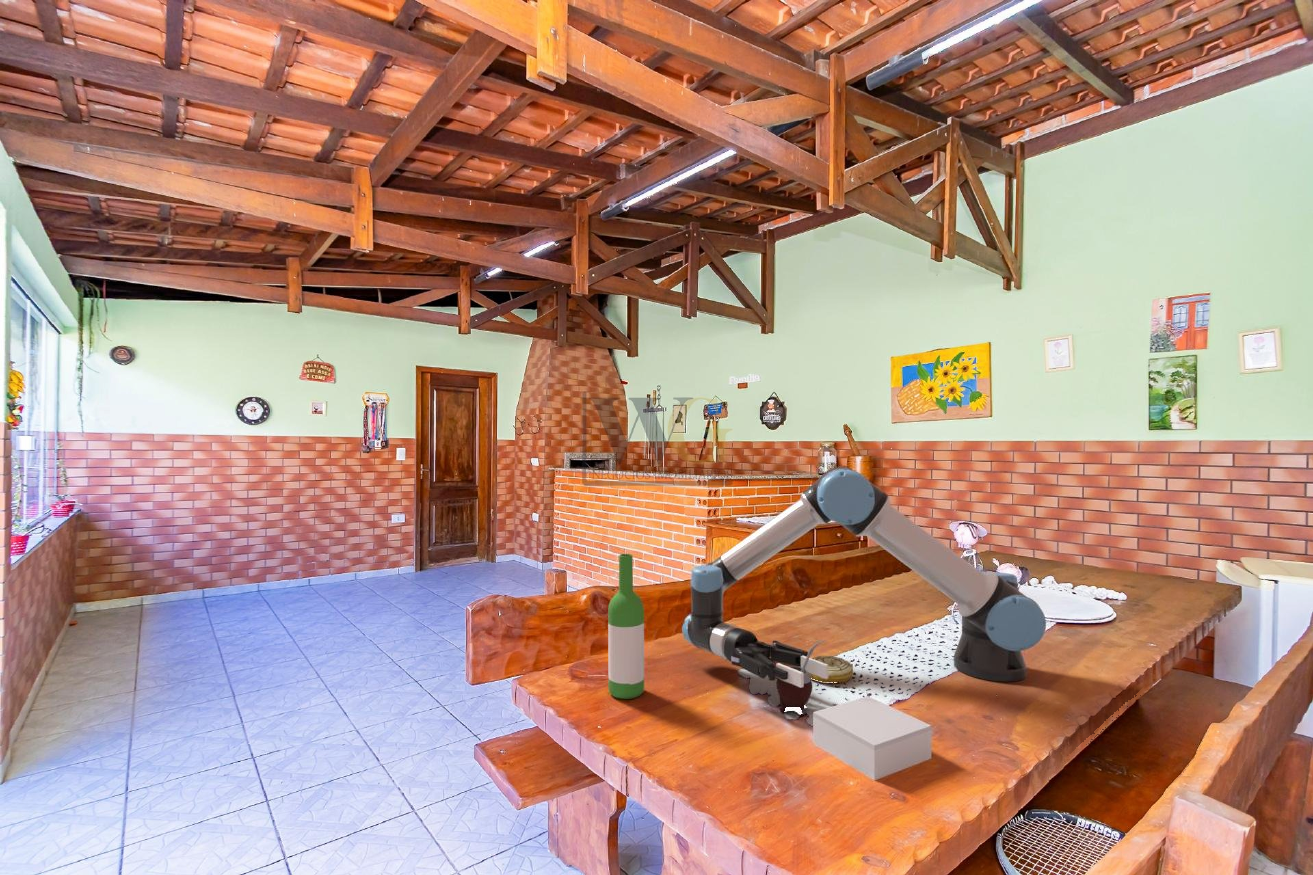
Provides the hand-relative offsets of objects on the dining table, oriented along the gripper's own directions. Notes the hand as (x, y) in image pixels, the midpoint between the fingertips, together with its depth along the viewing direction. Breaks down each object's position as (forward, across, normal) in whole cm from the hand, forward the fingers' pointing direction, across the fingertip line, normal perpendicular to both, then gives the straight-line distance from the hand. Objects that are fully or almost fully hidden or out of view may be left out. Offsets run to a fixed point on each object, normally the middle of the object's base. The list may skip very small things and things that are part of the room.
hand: (814, 675), depth 123 cm
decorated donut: (-13, -20, -9) cm, 25 cm away
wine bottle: (-32, +23, -9) cm, 41 cm away
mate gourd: (-5, 0, -9) cm, 10 cm away
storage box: (+14, +1, -9) cm, 17 cm away
